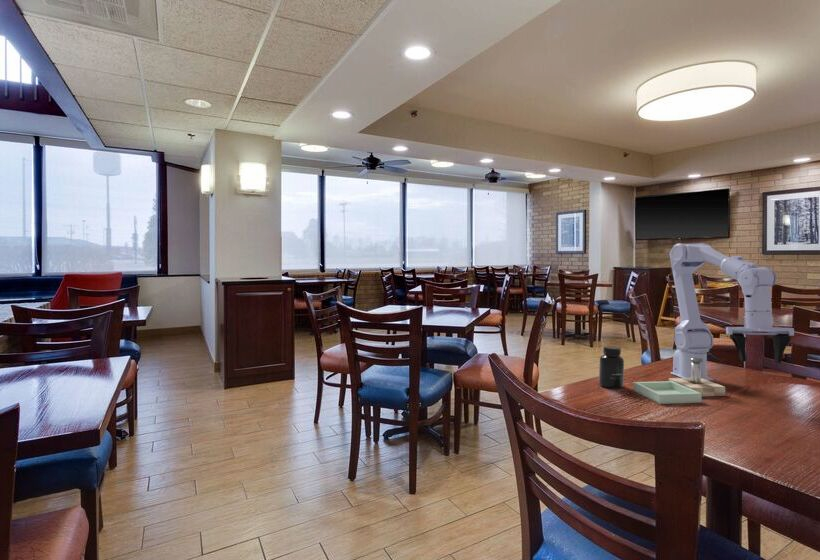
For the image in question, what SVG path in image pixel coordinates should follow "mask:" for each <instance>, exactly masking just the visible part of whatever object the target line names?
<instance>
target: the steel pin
mask: <svg viewBox="0 0 820 560" xmlns="http://www.w3.org/2000/svg"><path fill="white" fill-rule="evenodd" d="M690 361H691V383H693V384H701V362H703V359H701V358H694V357H692V358H690Z"/></svg>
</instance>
